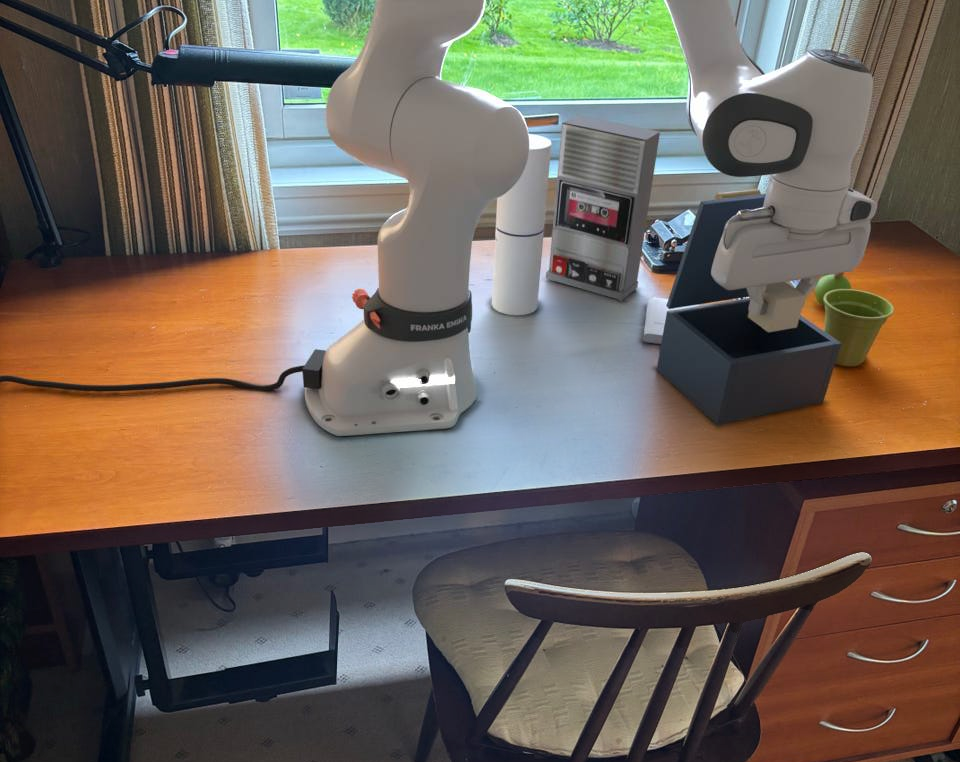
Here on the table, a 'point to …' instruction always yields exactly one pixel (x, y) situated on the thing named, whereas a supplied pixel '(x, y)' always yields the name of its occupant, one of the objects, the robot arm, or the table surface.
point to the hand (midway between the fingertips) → (775, 310)
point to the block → (780, 307)
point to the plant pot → (854, 322)
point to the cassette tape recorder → (601, 205)
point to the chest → (744, 361)
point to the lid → (709, 250)
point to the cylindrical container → (521, 234)
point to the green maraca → (830, 285)
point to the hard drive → (656, 319)
